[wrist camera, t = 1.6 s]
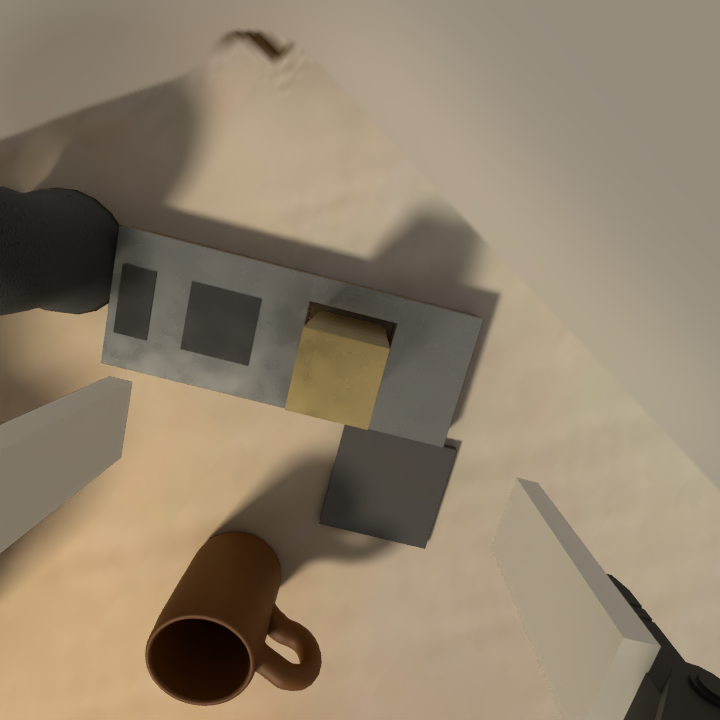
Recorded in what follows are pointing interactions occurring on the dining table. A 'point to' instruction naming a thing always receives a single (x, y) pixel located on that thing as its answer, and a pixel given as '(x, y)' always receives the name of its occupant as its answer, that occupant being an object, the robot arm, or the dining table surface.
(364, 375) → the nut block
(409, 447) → the rubber mat
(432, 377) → the grey board with slots
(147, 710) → the dining table surface
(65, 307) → the mug
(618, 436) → the dining table surface
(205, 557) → the mug
